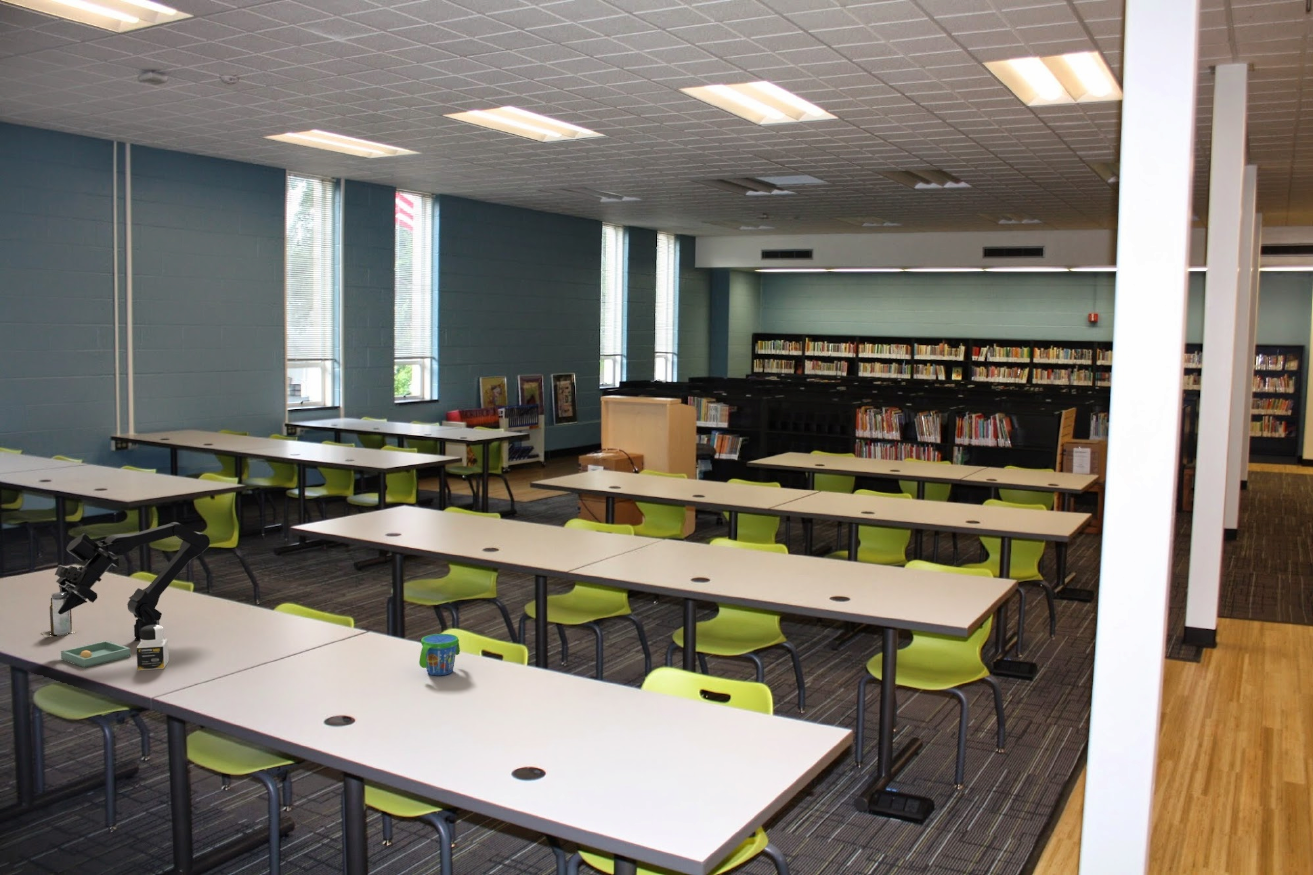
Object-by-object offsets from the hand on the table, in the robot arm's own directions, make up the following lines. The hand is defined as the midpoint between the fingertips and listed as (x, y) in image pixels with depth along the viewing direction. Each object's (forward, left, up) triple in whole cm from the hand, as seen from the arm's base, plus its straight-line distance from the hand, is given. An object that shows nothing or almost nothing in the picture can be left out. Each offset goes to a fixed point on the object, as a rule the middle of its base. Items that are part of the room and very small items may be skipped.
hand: (56, 612), depth 307 cm
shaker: (-1, -1, -7) cm, 7 cm away
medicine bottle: (-31, +15, -14) cm, 37 cm away
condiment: (+9, -26, -14) cm, 30 cm away
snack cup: (-114, +34, -14) cm, 120 cm away
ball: (-11, +8, -11) cm, 18 cm away
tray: (-12, +4, -13) cm, 19 cm away
